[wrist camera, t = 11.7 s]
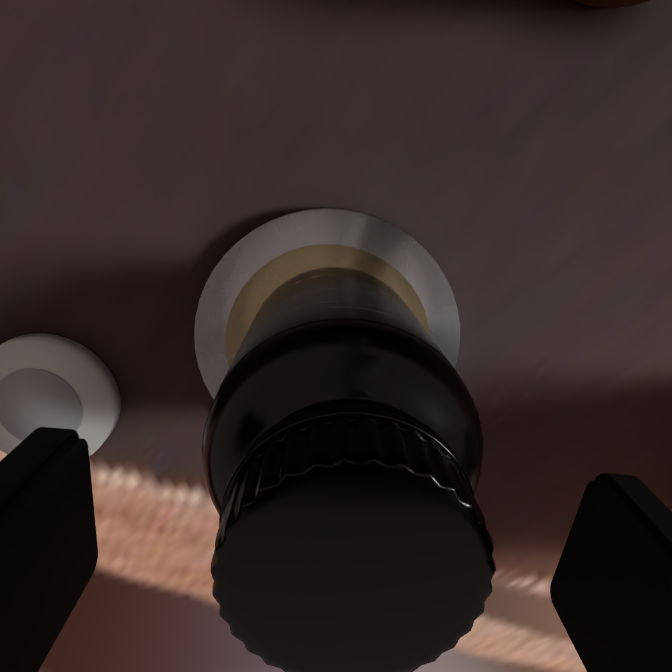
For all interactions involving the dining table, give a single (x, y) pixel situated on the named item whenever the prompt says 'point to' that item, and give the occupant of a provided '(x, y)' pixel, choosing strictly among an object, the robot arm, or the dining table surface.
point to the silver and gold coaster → (308, 254)
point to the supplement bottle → (345, 484)
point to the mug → (610, 3)
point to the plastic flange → (55, 390)
